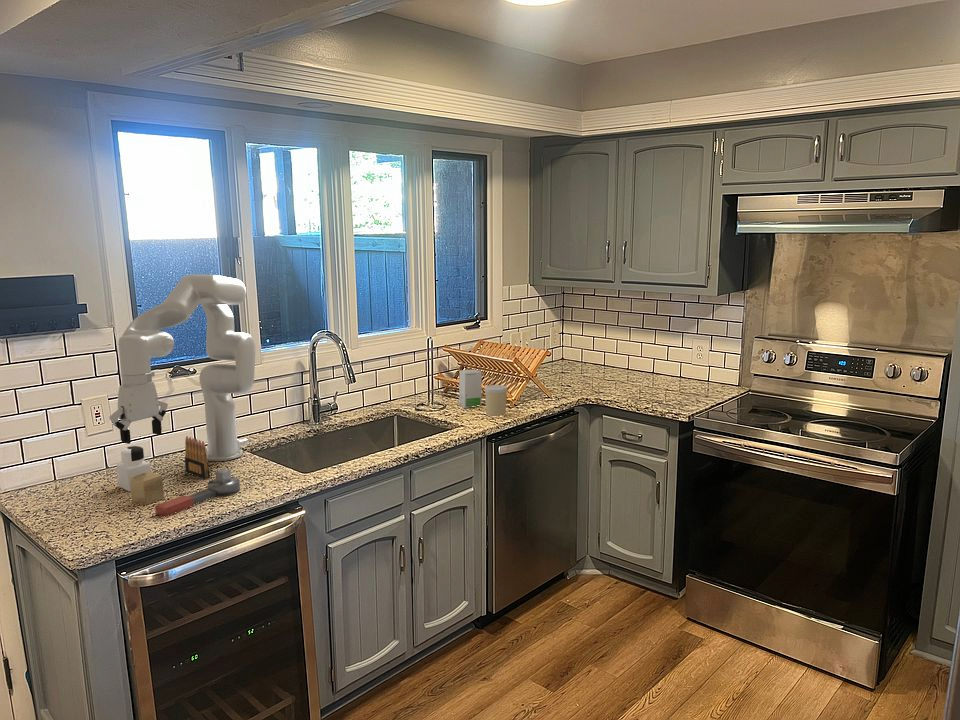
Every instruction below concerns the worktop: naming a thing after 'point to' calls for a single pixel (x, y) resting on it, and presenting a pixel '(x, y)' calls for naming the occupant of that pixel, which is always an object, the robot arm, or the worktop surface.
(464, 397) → the skincare box
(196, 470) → the ammunition clip
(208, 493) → the ratchet
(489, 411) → the coffee cup
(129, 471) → the medicine bottle
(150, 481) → the wooden block
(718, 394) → the worktop surface
